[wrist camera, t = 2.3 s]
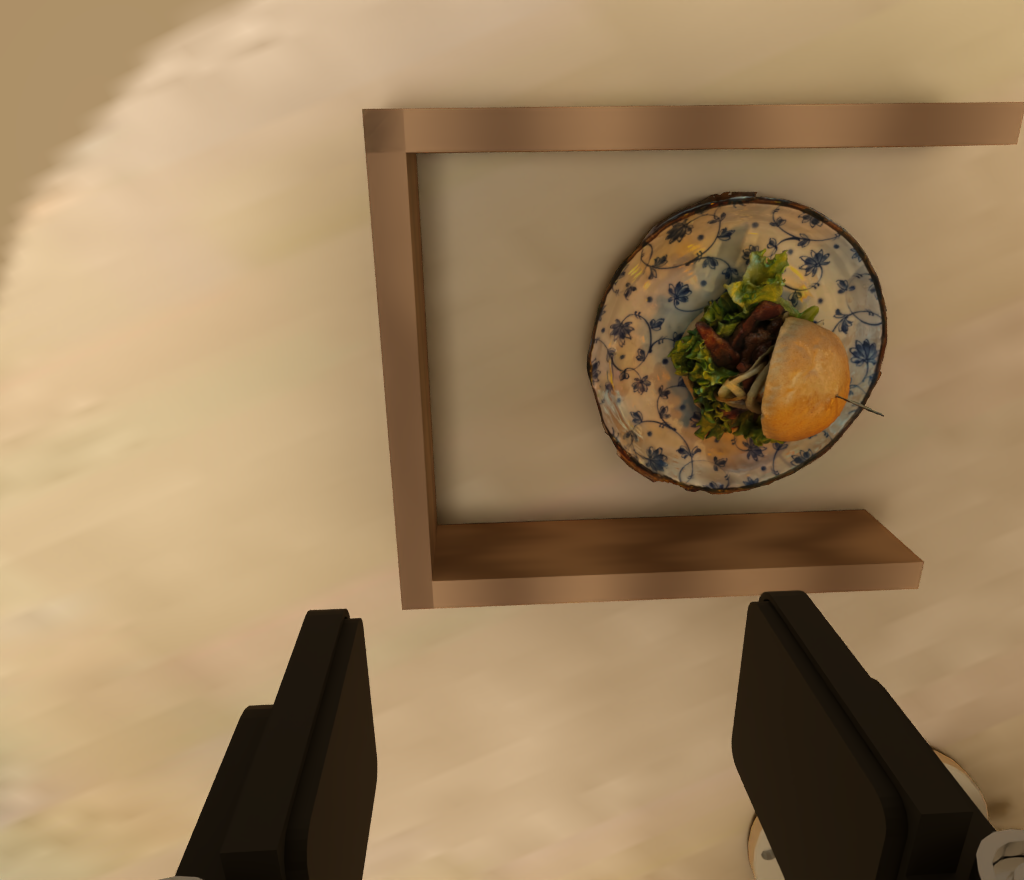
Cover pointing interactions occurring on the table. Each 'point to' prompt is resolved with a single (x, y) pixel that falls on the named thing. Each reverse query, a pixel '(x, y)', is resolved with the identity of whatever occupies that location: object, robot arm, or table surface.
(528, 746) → the table surface
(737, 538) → the wooden u-shaped wall
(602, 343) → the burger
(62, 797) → the table surface
